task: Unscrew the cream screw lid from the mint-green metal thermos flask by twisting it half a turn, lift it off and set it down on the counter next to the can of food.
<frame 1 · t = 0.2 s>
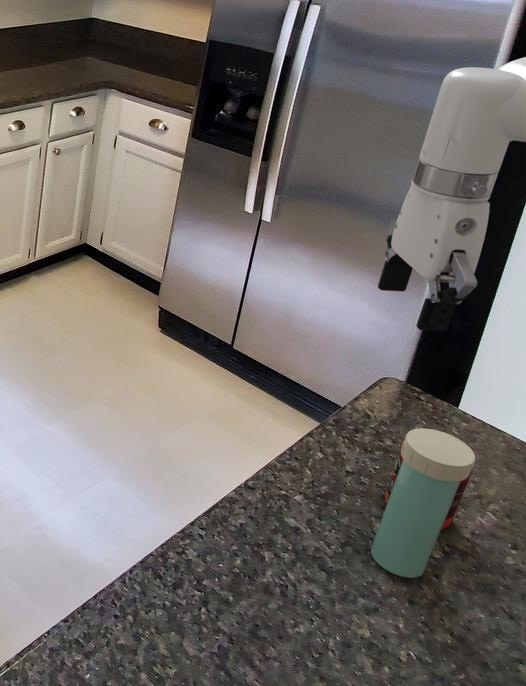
hand: (410, 308, 98), 33 cm above the countertop, tool pointing down, fingers open, 9 cm apart
canned food: (415, 513, 111), on the countertop
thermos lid: (438, 449, 96), point 18 cm above the countertop, screwed on, not yet turned
thermos: (397, 559, 104), on the countertop
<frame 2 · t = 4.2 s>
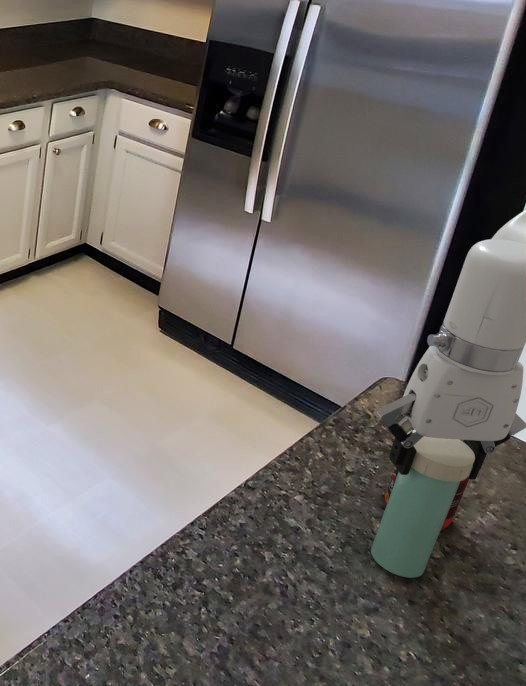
hand: (431, 468, 97), 15 cm above the countertop, tool pointing down, fingers closed on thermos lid, 7 cm apart
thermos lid: (438, 449, 96), point 18 cm above the countertop, screwed on, not yet turned, touching gripper
everything else where it was.
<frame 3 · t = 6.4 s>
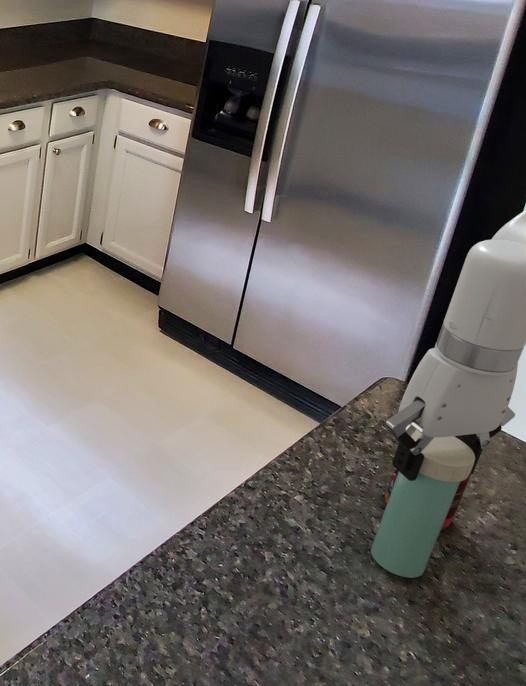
hand: (431, 468, 97), 15 cm above the countertop, tool pointing down, fingers closed on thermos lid, 7 cm apart
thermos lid: (438, 450, 96), point 18 cm above the countertop, off its thread, touching gripper
everything else where it was.
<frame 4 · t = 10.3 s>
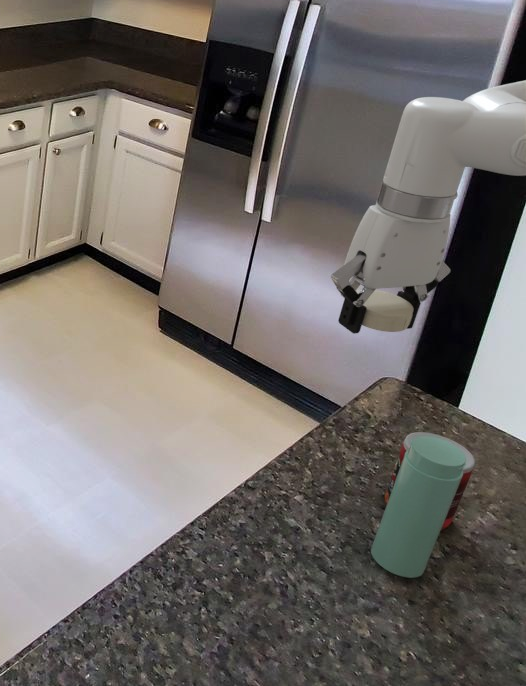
hand: (374, 324, 104), 28 cm above the countertop, tool pointing down, fingers closed on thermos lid, 7 cm apart
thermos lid: (380, 305, 103), point 30 cm above the countertop, off its thread, touching gripper
everything else where it was.
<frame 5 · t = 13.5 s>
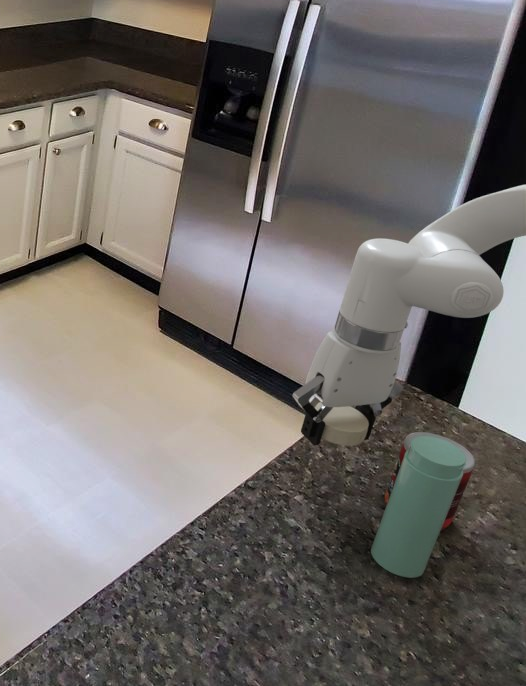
hand: (334, 435, 113), 9 cm above the countertop, tool pointing down, fingers closed on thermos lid, 7 cm apart
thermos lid: (339, 419, 112), point 12 cm above the countertop, off its thread, touching gripper
everything else where it was.
when the fingers open (0 cm above the countertop, at t = 16.4 s): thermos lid drops 1 cm, point 2 cm above the countertop.
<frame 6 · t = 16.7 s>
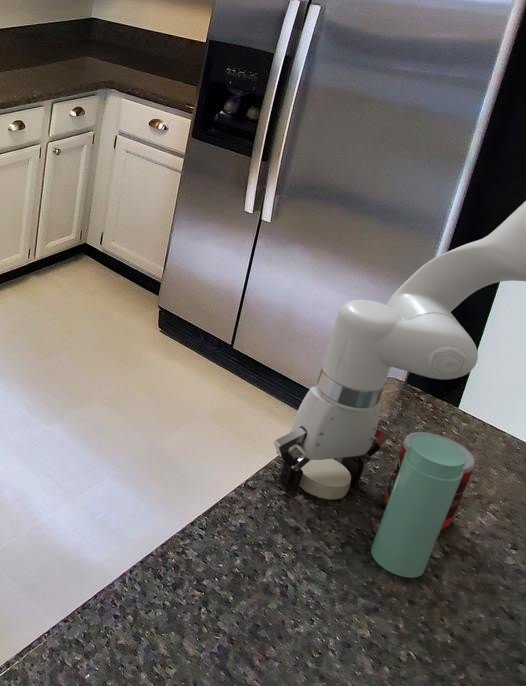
hand: (317, 482, 117), 0 cm above the countertop, tool pointing down, fingers open, 9 cm apart
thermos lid: (323, 472, 116), point 2 cm above the countertop, off its thread
everything else where it was.
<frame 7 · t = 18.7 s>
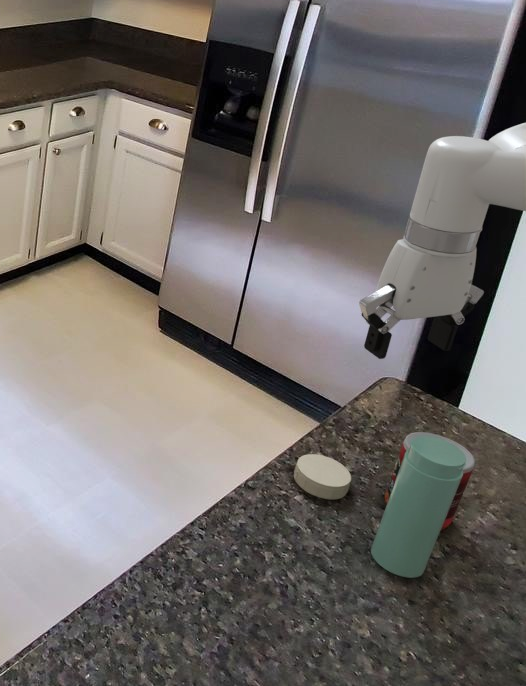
hand: (406, 349, 108), 23 cm above the countertop, tool pointing down, fingers open, 9 cm apart
nothing on the countertop moved.
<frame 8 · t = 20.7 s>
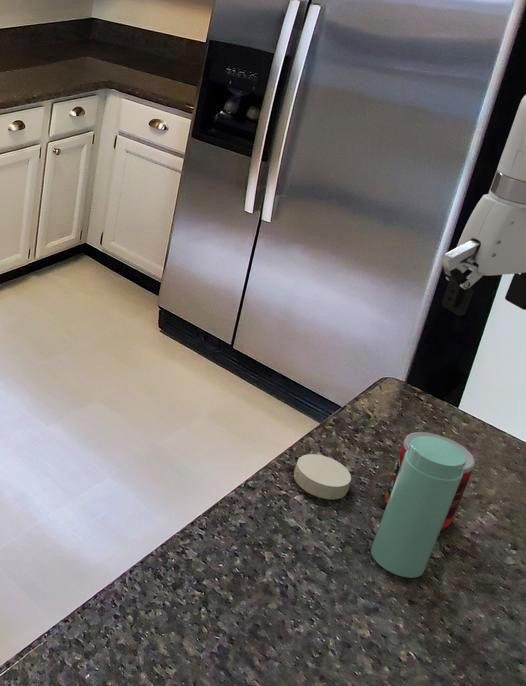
hand: (484, 307, 107), 28 cm above the countertop, tool pointing down, fingers open, 9 cm apart
nothing on the countertop moved.
at the end: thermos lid inside the target area (0.2 cm from its centre), point 1.9 cm above the countertop; thermos tilted 0°; thermos moved 0.0 cm from its start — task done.
